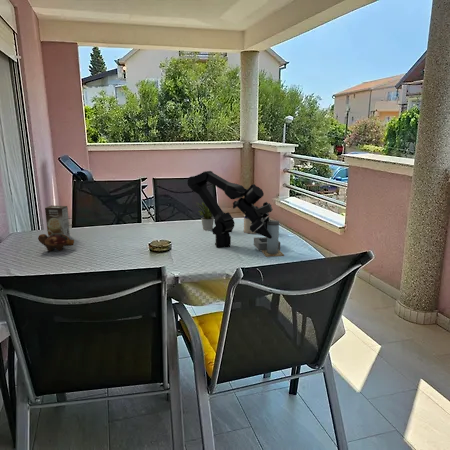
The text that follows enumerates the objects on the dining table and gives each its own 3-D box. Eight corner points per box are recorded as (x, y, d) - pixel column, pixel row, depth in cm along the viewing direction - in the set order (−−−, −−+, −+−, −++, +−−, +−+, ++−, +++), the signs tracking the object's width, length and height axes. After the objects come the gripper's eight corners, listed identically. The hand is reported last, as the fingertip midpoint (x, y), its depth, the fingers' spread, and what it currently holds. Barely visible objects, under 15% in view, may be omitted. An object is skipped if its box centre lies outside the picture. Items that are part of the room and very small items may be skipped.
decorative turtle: (39, 248, 182) (38, 231, 180) (74, 247, 187) (73, 230, 186) (37, 253, 173) (37, 235, 172) (74, 252, 178) (73, 234, 177)
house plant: (188, 231, 212) (187, 201, 208) (197, 225, 225) (197, 197, 221) (213, 233, 208) (213, 203, 204) (221, 227, 221) (221, 198, 217)
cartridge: (268, 254, 171) (269, 223, 168) (265, 250, 176) (265, 220, 173) (279, 253, 172) (280, 222, 169) (276, 250, 177) (277, 220, 174)
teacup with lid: (261, 233, 206) (262, 212, 204) (244, 234, 206) (244, 212, 203) (257, 228, 218) (258, 207, 215) (241, 228, 217) (241, 208, 214)
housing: (259, 251, 178) (259, 243, 177) (253, 244, 187) (253, 237, 186) (280, 249, 179) (280, 242, 178) (273, 243, 189) (274, 236, 188)
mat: (266, 256, 170) (266, 255, 169) (261, 251, 177) (261, 250, 177) (284, 255, 171) (284, 254, 171) (278, 250, 179) (278, 249, 178)
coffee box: (47, 238, 198) (43, 207, 194) (54, 235, 204) (50, 205, 200) (64, 239, 197) (61, 208, 193) (70, 235, 203) (67, 205, 199)
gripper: (258, 201, 161) (283, 228, 161) (265, 193, 178) (288, 218, 178) (239, 218, 165) (264, 245, 165) (247, 209, 182) (270, 234, 182)
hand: (272, 235), depth 172 cm, fingers open, 9 cm apart
